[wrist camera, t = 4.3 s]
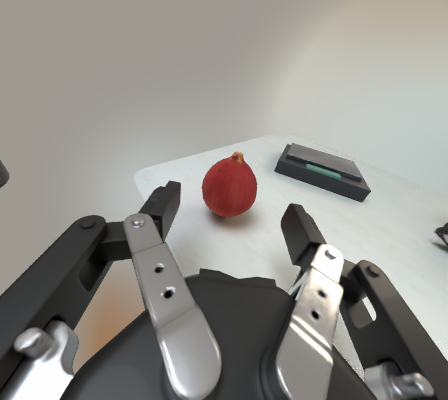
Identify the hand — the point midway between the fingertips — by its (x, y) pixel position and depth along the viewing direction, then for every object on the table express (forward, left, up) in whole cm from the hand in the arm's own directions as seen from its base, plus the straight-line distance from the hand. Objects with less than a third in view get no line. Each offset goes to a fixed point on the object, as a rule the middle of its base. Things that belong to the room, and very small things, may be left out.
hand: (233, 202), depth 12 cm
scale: (+9, +30, -6) cm, 32 cm away
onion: (-2, +5, -6) cm, 8 cm away
